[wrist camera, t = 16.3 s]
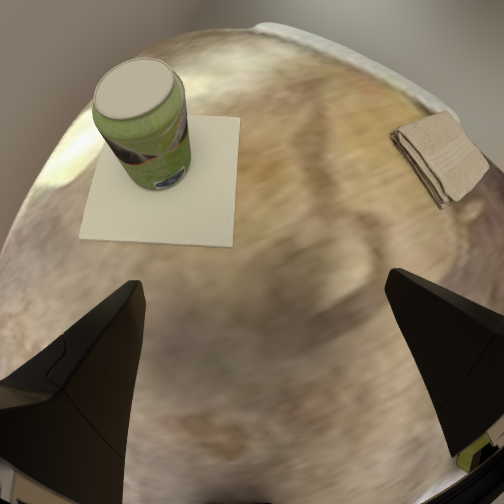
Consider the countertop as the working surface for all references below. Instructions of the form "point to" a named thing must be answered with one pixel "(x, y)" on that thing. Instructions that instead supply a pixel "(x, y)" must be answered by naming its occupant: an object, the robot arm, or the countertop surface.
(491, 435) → the robot arm
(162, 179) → the beverage can
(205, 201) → the cream mat
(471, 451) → the plant pot
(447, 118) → the washcloth
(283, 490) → the countertop surface
